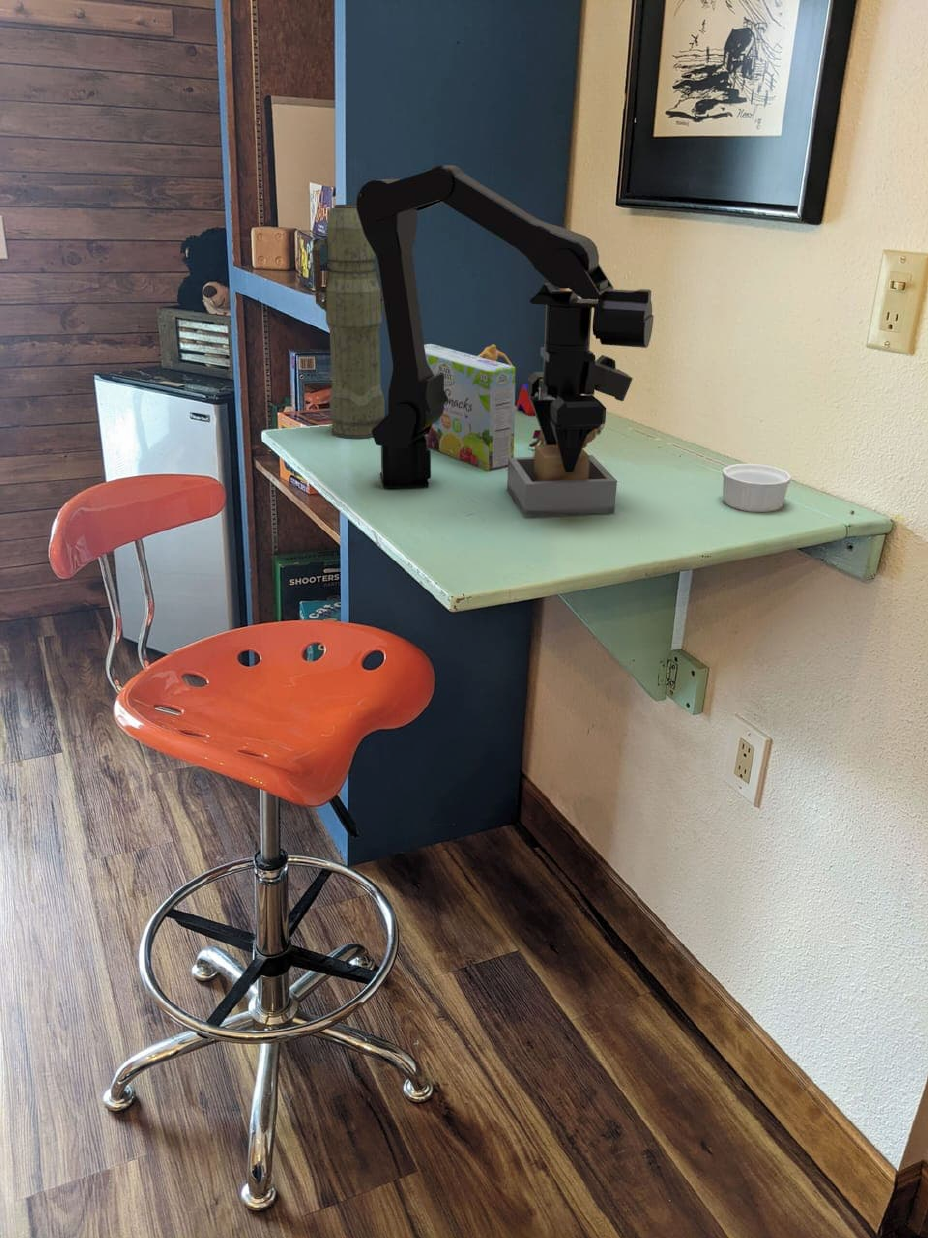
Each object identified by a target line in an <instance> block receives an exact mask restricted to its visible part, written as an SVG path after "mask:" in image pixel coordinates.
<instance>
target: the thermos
mask: <svg viewBox="0 0 928 1238" xmlns="http://www.w3.org/2000/svg"><path fill="white" fill-rule="evenodd" d="M326 222H327V224H326V229H325V236H324V238H320V239H318V240H317V242H315V244H314V246H313V247H312V248H311V249H312V262H313V263H312V264H313V273H314V274H313V277H314V287H315V290H314V291H315V303H316V305H317V306H318V307H319V308H320V309H321V310H323V311H324V312H325V323H326V325H327V327H328V329H329V347H330V348H329V349H330V367H331V369H330V370H331V389H330V394H329V417H330V419H331V433H332V435H333V436H335V437H337V438H341V439H349V440H363V439H364V440H365V439H372V438H373V439H374V437H373V434H372V429H373V428H374V427H375V426H376V425H378V424H379V423H380V422H381V421H382V420H383V419H384V418H385V417H386V415H385V414H386V413H385V411H386V410H385V396H384V393H383V390H382V388H381V386H382V385H381V384H382V383H381V359H380V358H381V355H380V353H381V352H380V350H381V349H380V327H381V325H382V323H383V318H382V317H383V316H382V315H383V314H382V313H383V312H384V304H383V298H382V291H381V284H380V281H379V279H378V276H377V275H378V271H377V269H376V261H377V258H376V255H375V253H374V252H373V250H372V248H371V246H370V245H369V243H368V241H367V239H366V237H365V236H364V233H363V230H362V226H361V223H360V220H359V217H358V213H357V209H356V204H334V207H329V211H328V215H327V219H326ZM323 245H325V246H326V260H328V261H327V262H328V269H327V278H326V283H325V287H324V300H323V293H322V277H321V276H322V274H321V271H322V270H321V257H320V255H321V252H320V250H321V247H322V246H323Z"/></svg>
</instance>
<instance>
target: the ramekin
mask: <svg viewBox="0 0 928 1238" xmlns="http://www.w3.org/2000/svg"><path fill="white" fill-rule="evenodd" d="M722 476H723V481H722V482H723V484H722V485H723V487H722V491H723V492H722V499H723V501H724V503H725V504H726V505H727V506H729V507H731V508H734V509H737V510H740V511H745V512H753V513H769V512H774V511H778V510H779V509H781V508H782V507H783V506H784V501H785V498H786V494H787V490H788V488H789V487H788V486H789V484H790V482H791V479H792V476H791V474H790V473H789V472H787V471H786V470H784V469H781V468H779V467H775V466H771V465H770V466H769V465H766V464H765V465H764V464H759V463H736V464H732V465H727V466H725V467H724V468H723V469H722Z"/></svg>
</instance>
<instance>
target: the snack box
mask: <svg viewBox="0 0 928 1238" xmlns="http://www.w3.org/2000/svg"><path fill="white" fill-rule="evenodd" d="M424 347H425V354H426V360H427V363H428V365H429V367H430V369H431V370H432V372H433V374H434V375H435V374H438V373H443V376H444V392H445V395H446V397H447V399H448V401H447V402H446V403H444V411H443V414H442V415H441V417H440V418H439V420H438V421H437V422H435V423H433V425H432V428H431V430H430V433H429V434H426V435H424V436H425V438H426V441H427V446H428V447H429V449H430V448H431V449H433V450H436V451H438V452H440V453H443V454H445V455H448V456H450V457H452V458H455V459H457V460H460V461H463V462H465V463H467V464H470V465H472V466H474V467H477V468H479V469H482V470H484V471H488V472H491V471H493V470H494V471H495V470H497V469H498V470H499V469H503V468H507V467H508V458H515V456H514V455H515V418H516V417H515V413H516V411H515V410H516V408H515V407H516V371H517V370H516V366H514V365H513V366H511V365H510V364H508V363H507V364H506V363H503V362H499V361H497V360H496V361H493V360H489V359H486V358H485V357H478V355H473V354H470V353H466V352H464V351H463V352H462V351H459V350H456V349H453V348H448V347H444V346H442V345H441V346H440V345H437V344H434V343H427V344H424Z"/></svg>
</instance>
